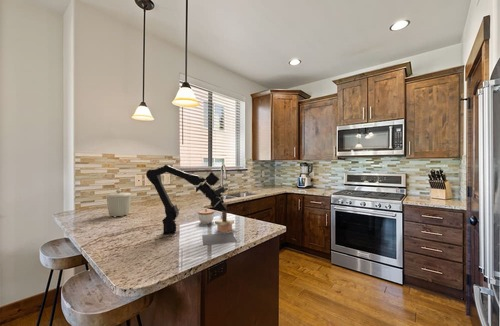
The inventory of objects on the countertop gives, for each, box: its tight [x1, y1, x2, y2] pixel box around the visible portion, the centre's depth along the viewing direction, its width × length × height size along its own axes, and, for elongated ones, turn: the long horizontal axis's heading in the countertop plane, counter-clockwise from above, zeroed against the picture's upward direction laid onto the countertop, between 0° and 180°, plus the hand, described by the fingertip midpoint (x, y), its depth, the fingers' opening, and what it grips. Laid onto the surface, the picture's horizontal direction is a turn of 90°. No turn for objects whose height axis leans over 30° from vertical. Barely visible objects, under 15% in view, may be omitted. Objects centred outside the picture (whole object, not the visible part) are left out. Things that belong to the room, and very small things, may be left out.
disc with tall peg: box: [214, 202, 235, 226], centre depth 132 cm, size 12×12×12 cm
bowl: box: [216, 224, 233, 233], centre depth 132 cm, size 8×8×4 cm
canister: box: [104, 189, 133, 217], centre depth 174 cm, size 18×18×21 cm
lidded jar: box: [197, 208, 215, 225], centre depth 150 cm, size 11×11×9 cm
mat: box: [201, 232, 238, 246], centre depth 117 cm, size 17×16×1 cm
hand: (226, 209), depth 133 cm, fingers open, 9 cm apart
